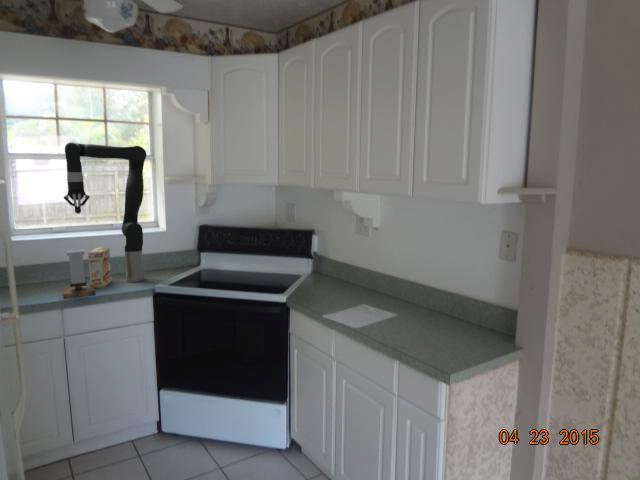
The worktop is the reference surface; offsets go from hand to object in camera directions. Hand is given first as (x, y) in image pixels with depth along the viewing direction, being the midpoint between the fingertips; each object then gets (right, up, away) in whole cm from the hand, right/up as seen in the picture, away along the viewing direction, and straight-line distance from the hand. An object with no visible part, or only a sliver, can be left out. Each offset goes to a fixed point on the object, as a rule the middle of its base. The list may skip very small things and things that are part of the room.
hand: (78, 213), depth 247 cm
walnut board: (+7, -41, -12) cm, 43 cm away
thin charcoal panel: (+7, -37, -12) cm, 40 cm away
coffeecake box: (+10, -39, +6) cm, 40 cm away
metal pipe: (+7, -39, -12) cm, 42 cm away
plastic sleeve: (+7, -36, -13) cm, 38 cm away
